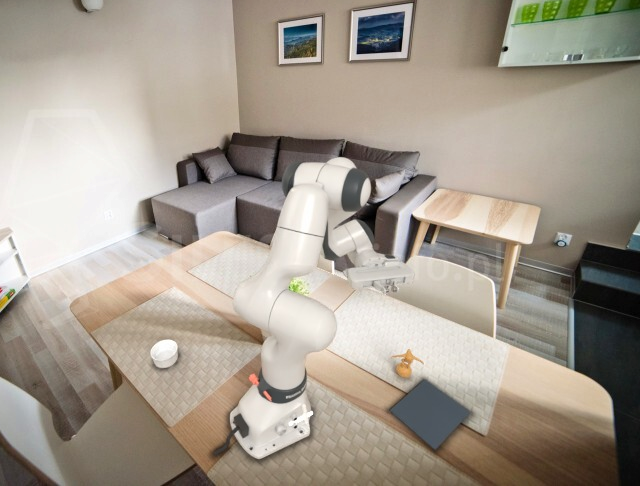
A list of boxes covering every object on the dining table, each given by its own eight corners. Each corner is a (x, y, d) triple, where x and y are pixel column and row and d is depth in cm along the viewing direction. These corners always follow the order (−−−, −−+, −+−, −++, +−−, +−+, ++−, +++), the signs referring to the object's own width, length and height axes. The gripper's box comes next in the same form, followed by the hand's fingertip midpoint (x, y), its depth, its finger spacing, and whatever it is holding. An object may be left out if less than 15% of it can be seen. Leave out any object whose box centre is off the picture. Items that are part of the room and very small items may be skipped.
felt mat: (434, 450, 77) (435, 449, 77) (389, 411, 87) (389, 409, 87) (469, 413, 85) (470, 411, 84) (424, 380, 94) (424, 379, 94)
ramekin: (147, 366, 106) (144, 356, 105) (162, 346, 114) (159, 336, 112) (170, 372, 103) (168, 363, 101) (184, 351, 111) (182, 342, 109)
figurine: (417, 372, 97) (424, 342, 91) (420, 390, 91) (427, 359, 86) (387, 366, 99) (391, 336, 94) (388, 383, 94) (393, 352, 89)
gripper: (341, 261, 108) (358, 286, 95) (401, 255, 109) (426, 279, 96) (340, 277, 111) (356, 303, 98) (399, 270, 111) (422, 296, 99)
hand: (391, 291), depth 97 cm, fingers closed
